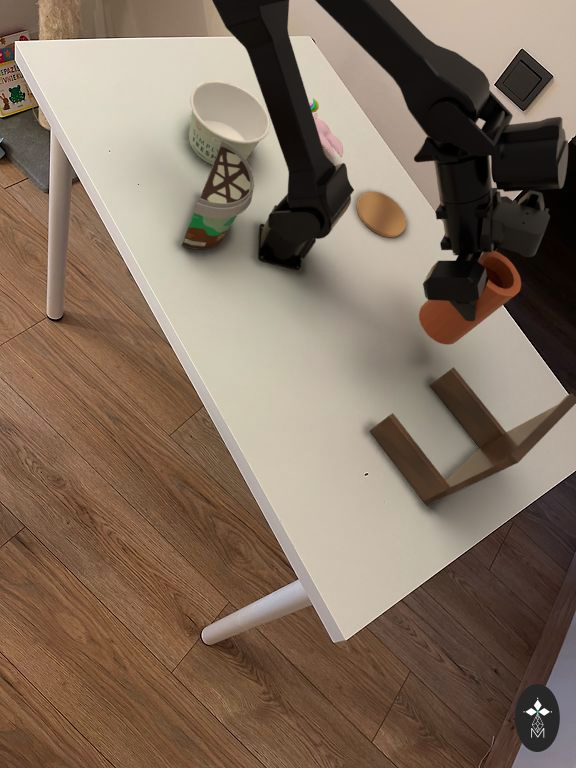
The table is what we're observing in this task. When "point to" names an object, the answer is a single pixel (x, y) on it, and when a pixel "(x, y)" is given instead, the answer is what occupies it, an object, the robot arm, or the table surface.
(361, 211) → the disc
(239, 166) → the food container
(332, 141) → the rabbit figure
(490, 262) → the jar
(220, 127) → the food container
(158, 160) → the table surface
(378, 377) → the table surface
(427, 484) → the wooden stand
